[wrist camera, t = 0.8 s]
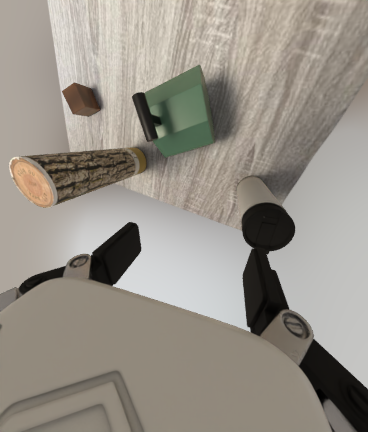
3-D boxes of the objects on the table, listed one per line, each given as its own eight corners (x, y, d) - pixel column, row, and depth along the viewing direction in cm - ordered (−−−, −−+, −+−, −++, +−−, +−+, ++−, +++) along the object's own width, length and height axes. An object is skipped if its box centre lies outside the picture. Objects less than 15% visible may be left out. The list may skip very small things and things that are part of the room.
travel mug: (233, 200, 38) (237, 249, 21) (239, 174, 34) (248, 208, 17) (259, 203, 36) (286, 259, 19) (267, 177, 33) (307, 216, 16)
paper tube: (147, 175, 41) (59, 213, 20) (126, 170, 42) (22, 201, 21) (147, 149, 38) (42, 163, 17) (125, 145, 39) (-1, 151, 18)
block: (79, 96, 36) (61, 91, 32) (91, 88, 35) (74, 82, 31) (88, 116, 38) (72, 114, 34) (100, 110, 36) (85, 106, 33)
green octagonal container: (216, 142, 32) (176, 154, 36) (206, 82, 28) (162, 102, 32) (208, 143, 19) (145, 163, 22) (187, 27, 15) (113, 73, 18)
